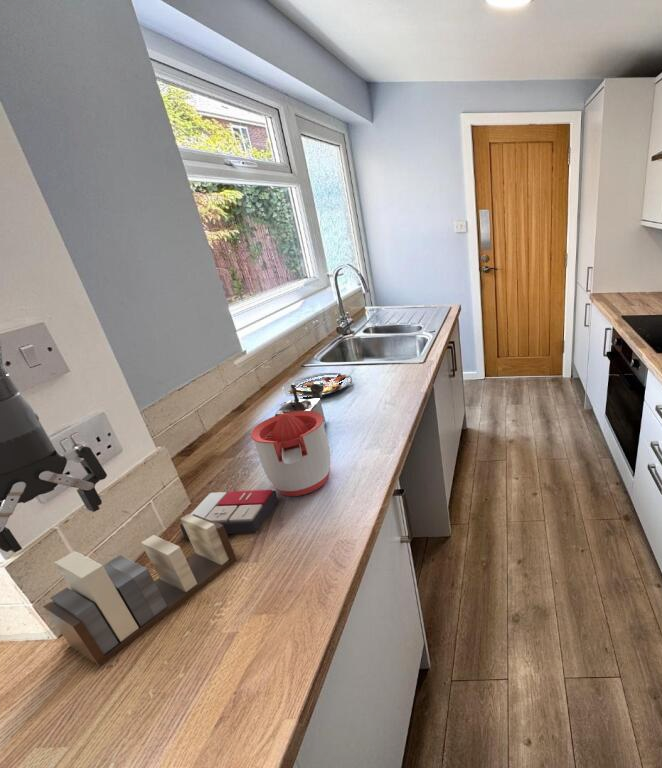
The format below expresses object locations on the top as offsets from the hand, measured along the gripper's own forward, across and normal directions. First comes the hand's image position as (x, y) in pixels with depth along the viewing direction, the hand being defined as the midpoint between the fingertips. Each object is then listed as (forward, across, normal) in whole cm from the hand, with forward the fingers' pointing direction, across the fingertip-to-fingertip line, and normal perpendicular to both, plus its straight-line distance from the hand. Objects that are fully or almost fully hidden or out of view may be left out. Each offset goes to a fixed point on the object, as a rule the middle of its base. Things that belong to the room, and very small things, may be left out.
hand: (57, 528), depth 59 cm
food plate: (+22, -88, -49) cm, 103 cm away
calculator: (+22, -25, -8) cm, 35 cm away
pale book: (+21, 0, 0) cm, 21 cm away
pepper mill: (+22, -61, -23) cm, 69 cm away
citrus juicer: (+22, -40, -3) cm, 46 cm away
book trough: (+22, -6, 0) cm, 23 cm away
